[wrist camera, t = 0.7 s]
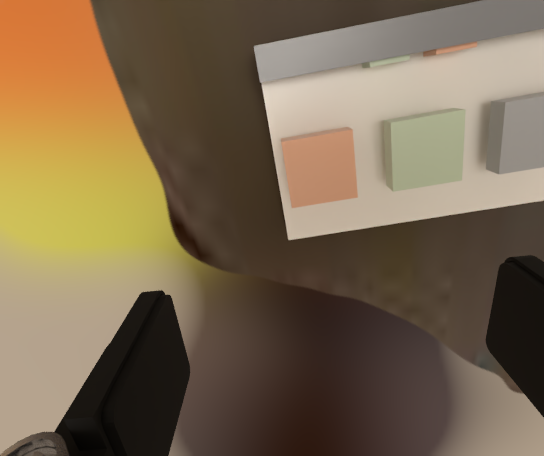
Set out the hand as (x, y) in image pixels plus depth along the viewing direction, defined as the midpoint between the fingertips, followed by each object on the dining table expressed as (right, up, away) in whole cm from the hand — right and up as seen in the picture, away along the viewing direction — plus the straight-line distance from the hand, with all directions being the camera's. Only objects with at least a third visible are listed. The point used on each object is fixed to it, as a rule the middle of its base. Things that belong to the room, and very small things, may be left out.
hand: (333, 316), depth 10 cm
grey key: (+15, +9, +13) cm, 22 cm away
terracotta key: (+2, +7, +14) cm, 16 cm away
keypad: (+8, +10, +17) cm, 21 cm away
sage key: (+8, +8, +14) cm, 18 cm away
